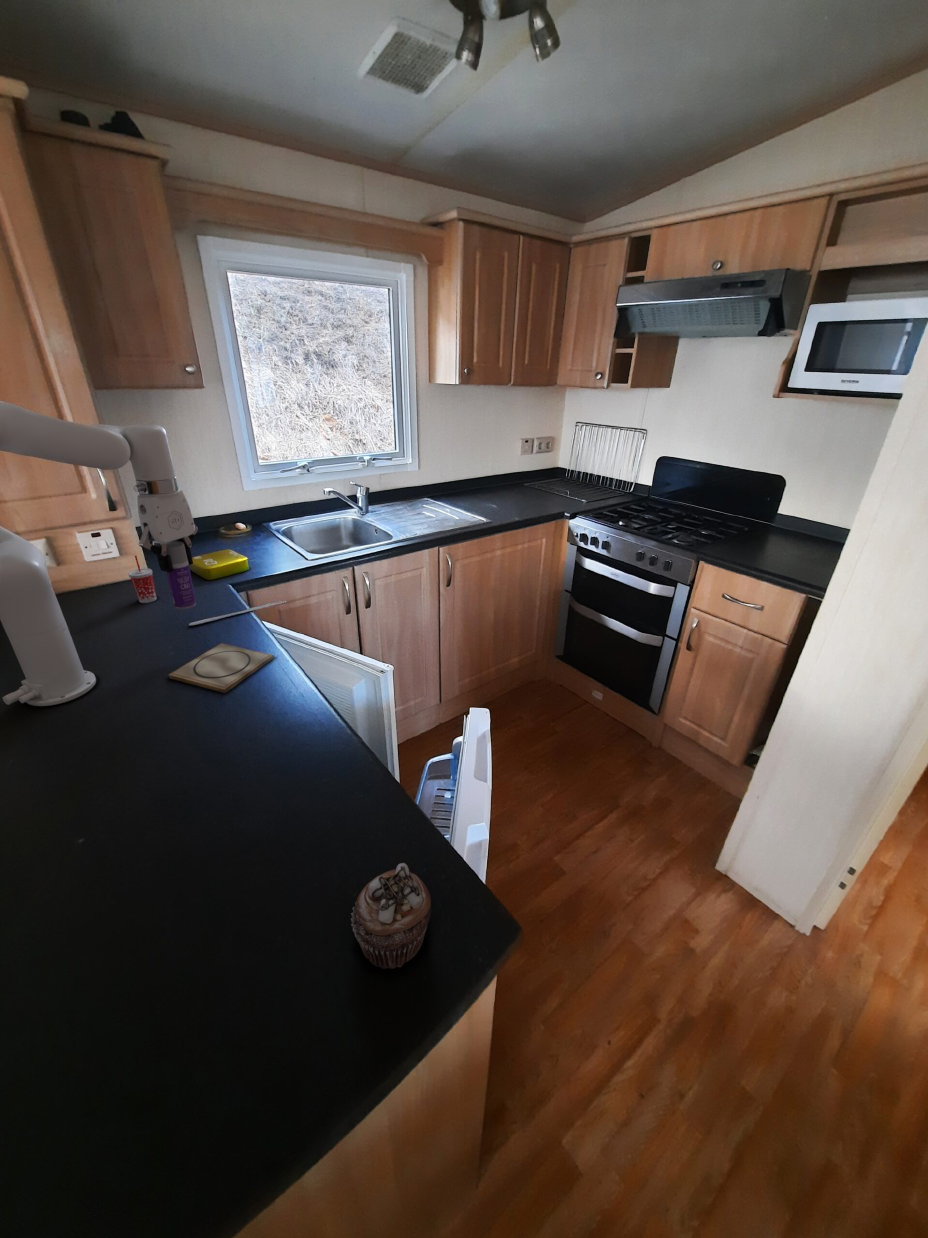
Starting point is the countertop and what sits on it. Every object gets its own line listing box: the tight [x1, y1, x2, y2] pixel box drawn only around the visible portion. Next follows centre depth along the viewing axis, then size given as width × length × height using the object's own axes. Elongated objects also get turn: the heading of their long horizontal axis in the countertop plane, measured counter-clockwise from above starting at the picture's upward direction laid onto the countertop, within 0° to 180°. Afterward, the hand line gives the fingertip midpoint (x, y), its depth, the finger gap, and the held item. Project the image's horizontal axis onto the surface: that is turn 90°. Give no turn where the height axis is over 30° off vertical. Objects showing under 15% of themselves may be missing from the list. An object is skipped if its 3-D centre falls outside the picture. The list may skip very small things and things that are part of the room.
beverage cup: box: [127, 555, 158, 604], centre depth 150 cm, size 6×6×14 cm
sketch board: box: [168, 642, 275, 694], centre depth 119 cm, size 16×16×1 cm
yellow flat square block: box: [189, 548, 250, 581], centre depth 175 cm, size 15×15×5 cm
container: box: [166, 540, 197, 610], centre depth 116 cm, size 5×5×15 cm
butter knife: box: [188, 600, 287, 627], centre depth 146 cm, size 1×27×3 cm
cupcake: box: [350, 862, 432, 970], centre depth 61 cm, size 10×10×10 cm
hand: (177, 566), depth 116 cm, fingers closed on container, 4 cm apart
